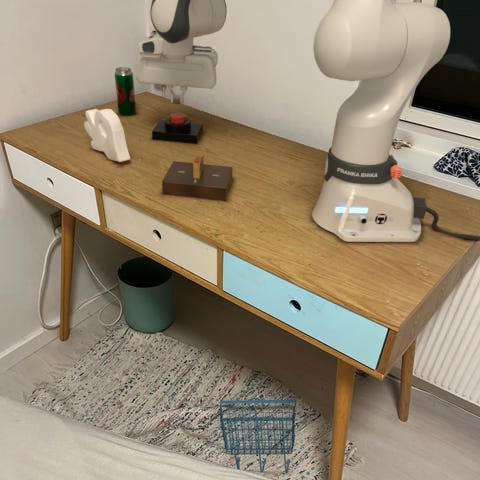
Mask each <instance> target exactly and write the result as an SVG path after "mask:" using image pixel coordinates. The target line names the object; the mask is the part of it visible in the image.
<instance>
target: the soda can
mask: <svg viewBox="0 0 480 480" xmlns="http://www.w3.org/2000/svg"><path fill="white" fill-rule="evenodd" d="M114 80H115V92H116V93H115V94H116V101H117V111H118V112H117V113H119V114H120V115H122V116H124V117H129V116H133V115H135V114H136V112H137V107H136V97H135V96H136V95H135V93H136V92H135V82H134V81H135V80H134V73H133V71H132V69H131V68H130V67H128V66H127V67H126V66H120V67H116V68H115V71H114Z"/></svg>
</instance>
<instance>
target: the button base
mask: <svg viewBox="0 0 480 480" xmlns="http://www.w3.org/2000/svg"><path fill="white" fill-rule="evenodd" d="M203 133H204V124H203V123H202V122H201V123H199V122H192V120H191V119H190V117H186V116H185V123H180V124H176V123H171V122H170V116H168V117H165V119H159V120H158V122H157V124H155V126H154V127H153V129H152V131H151V137H152V138H151V139H152V140H155V141H167V142H175V143H176V142H177V143H186V144H187V143H188V144H198V142H199V140H200V138H201V136H202V135H203Z"/></svg>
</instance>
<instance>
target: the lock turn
mask: <svg viewBox="0 0 480 480" xmlns="http://www.w3.org/2000/svg"><path fill="white" fill-rule="evenodd" d="M204 155H205V154H203V153H197V155H196V156H195V158H194V160H193V162H192V163H193V178H197V179H200V177H201V174H202V172H203V170H204V164H205V162H204V161H205V159H204V157H205V156H204Z"/></svg>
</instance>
